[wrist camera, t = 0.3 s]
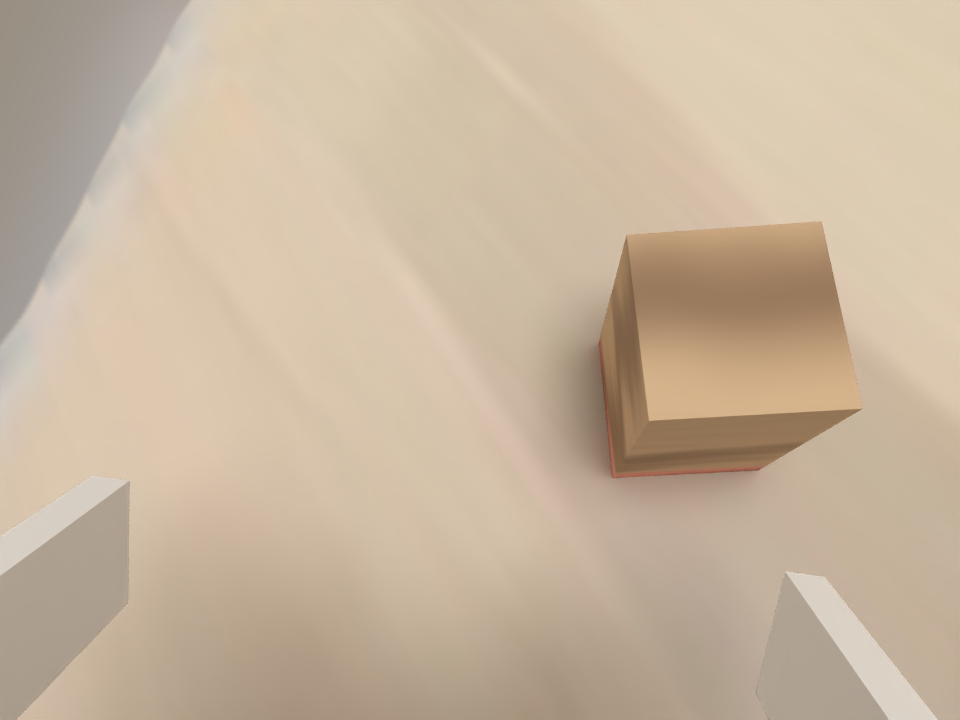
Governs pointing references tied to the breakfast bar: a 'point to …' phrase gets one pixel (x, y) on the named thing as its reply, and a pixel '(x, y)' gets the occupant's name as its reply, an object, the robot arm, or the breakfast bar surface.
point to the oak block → (723, 349)
